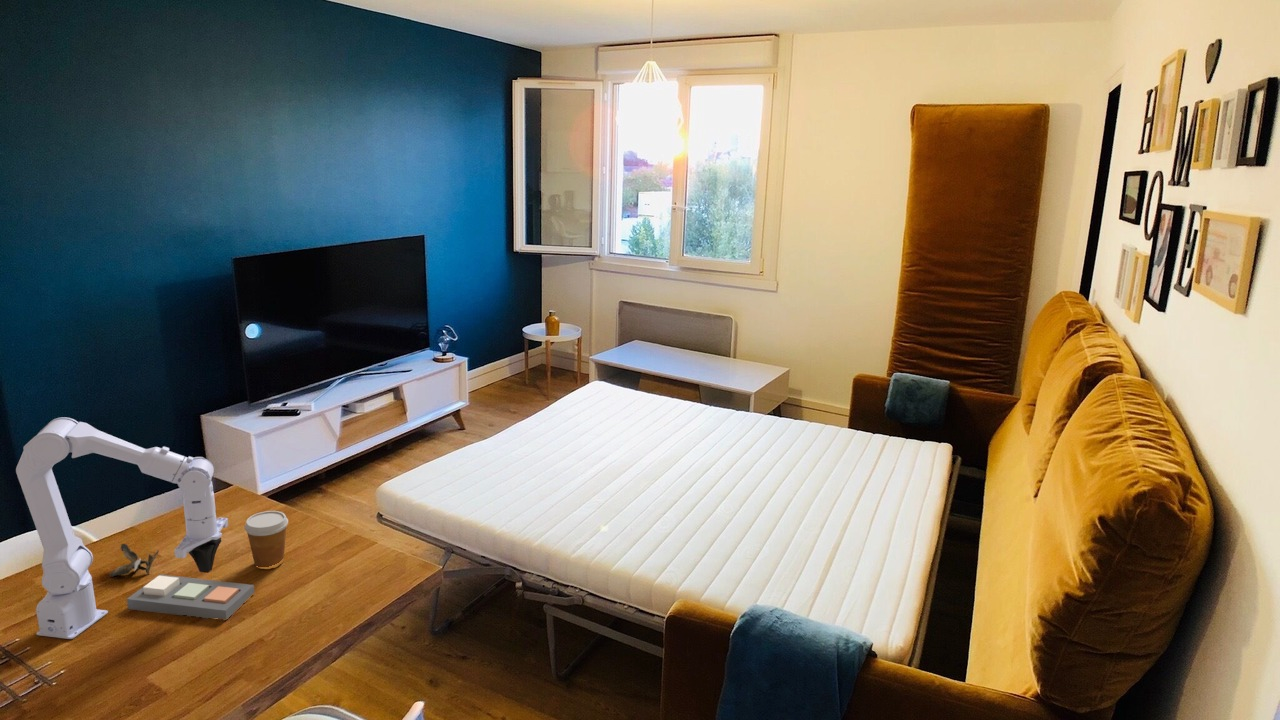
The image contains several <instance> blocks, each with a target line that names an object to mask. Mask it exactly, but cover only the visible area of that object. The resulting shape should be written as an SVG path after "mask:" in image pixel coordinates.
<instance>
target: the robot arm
mask: <svg viewBox="0 0 1280 720" xmlns="http://www.w3.org/2000/svg"><path fill="white" fill-rule="evenodd" d="M69 453H72V454H71V458H72V459H76V458H78V457H81V456H82V457H83V456H85V455H89V454H90V455H91V454H98V455H101V456H104V457H108V458H111V459H112V458H113V459H116V460H119V461H123V462H125V463H126V462H127V463H130V464H133V465H137V466H138V468H139V470H140V473H142V474H145V475H148V476H152V477H154V478H157V479H160V480H164V481H167V482H169V483H172V484H177V486H178V488H179V489H180V490H181V492H182V494H183V495H182V501H183V503H182V504H183V512H184V523H185V524H184V525H185V531H186V534H185V535H184V537H183V538H182V539H181V541H180V542H179V544H178V546H176V547H175V548H174V558H177V559H185V558H187V556H188V554H189V555H190V556H191V558H192V559H193V561H194V563H195V565H196V566H197V569H198V572H199V573H204V574H206V573H207V574H208V573H210V572H211V571H212V570H213V566H214V561H215V557H216V554H217V550H218V549H219V546H220V545H221V543H222V537H223V533H222V532H221V530H222V529H224V528H225V529H226V528H227V527H229V519H228V517H217V513H216V501H215V493H214V492H215V491H214V486H213V480H212V478H213V476H214V473H215V468H214V467H215V466H214V465H213V463H212V462H211V461H210V460H208V459H206V458H205V457H203V456H195V457H193V456H190V455H189V456H188V457H187V456H185V455H182V454H179V453H176V452H173V451H170V447H167V446H165V445H164V446H162V447H158V446H154V447H150V448H144V447H142V446H139V445H137V444H134V443H132V442H128V441H126V440H124V439H121V438H120V437H119V438H118V437H116V436H113V435H112V434H108V433H107V432H104V431H101V430H99V429H97V428H96V427H94V426H92V425H91V424H89V423H87V422H83V421H77V420H76V419H74V418H71V417H65V416H64V417H57V418H54V419H52V420H51V421H50V422H48V423H47V424H46V425H45V426H44V427H43V428H42V429H40V431H39V432H38V433H37V434H36V435H35V436H33V437H32V438H31V439H30V440H29V441H28V442H27V443H26V444H25V445H23V451H22V454H21V456H20V459H19V461H18V463H17V465H16V468H15V473H16V475H17V479H18V482H19V484H20V486H21V490H22V493H23V495H24V499H25V501H26V504H27V506H28V508H29V509H28V510H29V512H30V515H31V518H32V520H33V523H34V526H35V529H36V532H37V535H38V536H39V539H40V540H39V541H40V542H41V543H40V544H41V545H42V548H43V553H42V560H41V569H42V571H43V574H42V577H41V584H42V587H43V588H44V589H45V590H46V591H47V592H46V594H45V596H44V597H43V598H42V600H40V601H39V602H37V605H36V610H35V611H36V618H37V623H38V629H39V630H38V631H37V632H36V636H42V637H50V638H57V639H65V640H66V639H67V640H72V639H75V638H76V637H78V636H79V635H80V634H81V633H83V632H84V631H86V630H87V629H88V628H89V627H91V626H92V625H94V624H95V623H96V622H98V621H100V619H102V618H103V617H105V616H106V615H107V614H108V613H109V610H106V609H97V603H96V598H95V589H94V584H93V577H92V574H90V571H89V567H90V566H91V565H92V563H93V561H94V555H93V553H92V551H91V550H90V549H89V548H88V547H86V546H85V545H84V543H83V540H82V538H80V537H78V536H76V535H75V533H74V530H73V527H72V524H71V521H70V519H69V516H68V515H69V514H68V513H67V509H66V506H65V503H64V501H63V498H62V495H61V492H60V489H59V485H58V484H57V480H56V477H55V475H54V472H53V471H54V470H53V467H54V465H56V464H57V463H60V462H61V461H62V460H64V459H66V457H67V456H68V455H69Z"/></svg>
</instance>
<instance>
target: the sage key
mask: <svg viewBox="0 0 1280 720" xmlns="http://www.w3.org/2000/svg"><path fill="white" fill-rule="evenodd" d="M208 589H209V585H203V584H195V583H188V584H187V585H185V586H184V587H183V588H182V589H180V590H179V591H178V592H177V593H175V594H174V598H179V599H188V600H196V599H197V598H199V597H200V596H201V595H202V594H203V593H205V592H206V591H207V590H208Z"/></svg>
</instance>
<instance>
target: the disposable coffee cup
mask: <svg viewBox="0 0 1280 720" xmlns="http://www.w3.org/2000/svg"><path fill="white" fill-rule="evenodd" d="M288 524H289V518H287V516H286V513H284V512H283V511H277V510H266V511H260V512H257V513H254V514H252V515H250V517H248V518H247V519H246V521H245V524H244V530H245V532H246V533H247V538H248V542H249V545H250V550H251V553H252V559H253V562H254V566H255V565H256V566H258V567H269V566H272V565H275V564H277V563H279V562H280V561H281V560H282V559H283V558H284V559H285V549H286V535H287V526H288Z"/></svg>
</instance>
